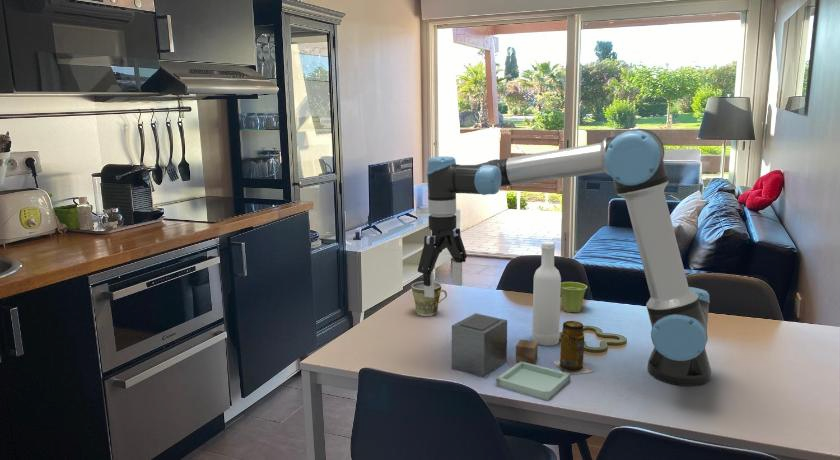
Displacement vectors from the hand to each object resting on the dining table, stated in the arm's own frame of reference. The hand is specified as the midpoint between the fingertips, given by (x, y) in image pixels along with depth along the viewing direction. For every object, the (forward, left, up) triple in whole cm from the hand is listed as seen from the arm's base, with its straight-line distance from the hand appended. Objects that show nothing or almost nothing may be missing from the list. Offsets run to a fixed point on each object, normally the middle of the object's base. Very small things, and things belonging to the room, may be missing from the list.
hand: (443, 290), depth 172 cm
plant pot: (-14, -57, -19) cm, 62 cm away
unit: (-12, 0, -19) cm, 22 cm away
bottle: (-19, -26, -19) cm, 37 cm away
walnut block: (-21, -10, -19) cm, 30 cm away
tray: (-29, +2, -19) cm, 34 cm away
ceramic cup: (+23, -26, -19) cm, 40 cm away
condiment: (-33, -13, -19) cm, 40 cm away
